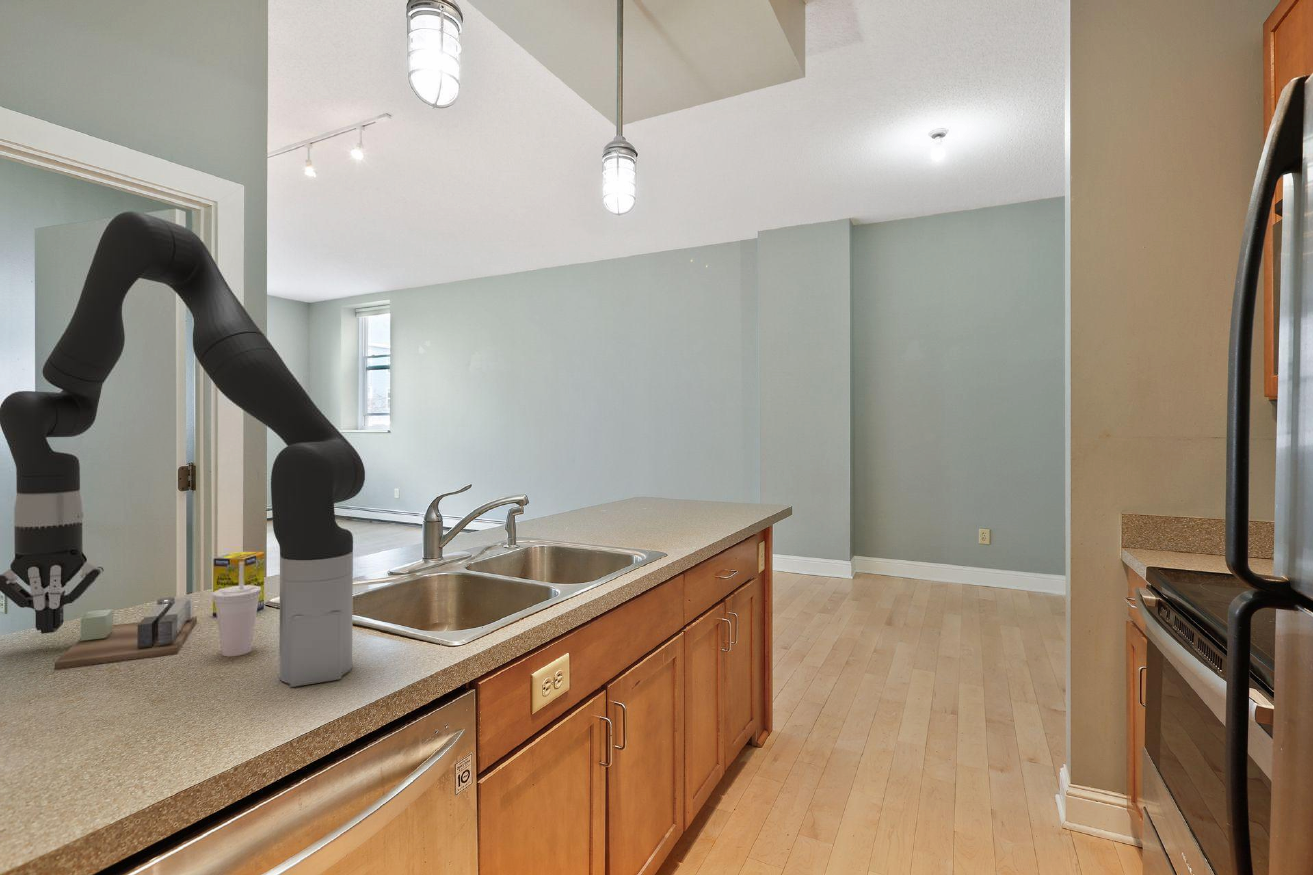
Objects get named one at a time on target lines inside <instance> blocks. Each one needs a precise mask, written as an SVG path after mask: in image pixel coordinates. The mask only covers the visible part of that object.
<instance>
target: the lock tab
mask: <svg viewBox="0 0 1313 875" xmlns="http://www.w3.org/2000/svg"><path fill="white" fill-rule="evenodd" d="M113 625H114V608H113V609H112V608H110V609H103V610H101V609H100V610H99V609H98V610H91V611H90V610H89V611H88V612H87V613H86V614H84V615H83V616H82V617H81V618H80V639H81V641H83V640H92V639H101V638H106V637H107V636H108V635H109V634H110V633H111V632H112V631H113Z"/></svg>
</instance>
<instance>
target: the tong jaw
mask: <svg viewBox="0 0 1313 875" xmlns="http://www.w3.org/2000/svg"><path fill="white" fill-rule="evenodd" d="M168 610H169V604H160V605H157V604H156V605H155V606H154V608H152V610H151V611H150V612H149V613H148V614H147V615H146V616H145V617H143V619H141V621H139V622H140V623H139V624H138V648H145V647H152V646H153V644H154V643H155V642H156V641H157V639H158V622H159V621H160V620H161V618H162V617H163V616H164V615H165V614H166V613H167V612H168Z"/></svg>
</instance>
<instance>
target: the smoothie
mask: <svg viewBox="0 0 1313 875" xmlns="http://www.w3.org/2000/svg"><path fill="white" fill-rule="evenodd" d="M261 594H262V593H261V587H259V586H254V585H244V562H239V586H233V587H227V588H223V589H219V590H217V591H215V592H213V591H212V594H211V595H212V597H211V601H212V602H213V601H214V602H215V607H216V614H217V617H216V619H217V627H218V634H219V639H220V646H221V653H222V656H224V657H230V658H231V657H237V656H238V657H239V656H242V655H246V654H248V653H250V652H251V651H252V646H253V641H254V634H255V627H256V619H257V612H258V611H257V607H258V599H259V596H260V595H261Z"/></svg>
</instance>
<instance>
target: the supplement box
mask: <svg viewBox="0 0 1313 875" xmlns="http://www.w3.org/2000/svg"><path fill="white" fill-rule="evenodd" d="M265 555H266V554H265V552H263V551H233V552H231V553H227V554H224V555H220V556H215V557H213V559H212V568H213V569H212V572H213V573H212V574H213V575H212V578H213V579H212V593H213V592H215V591H217V590H219V589H223V588H227V587H233V586H239V562H244V585H254V586H259V587H261V593H262V594H261V595H260V596H259V599H258V607H257V612H258V611H261V610H263V609H264V608H265ZM212 617H213V618H217V614H216V607H215V602H214V601H212Z"/></svg>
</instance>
